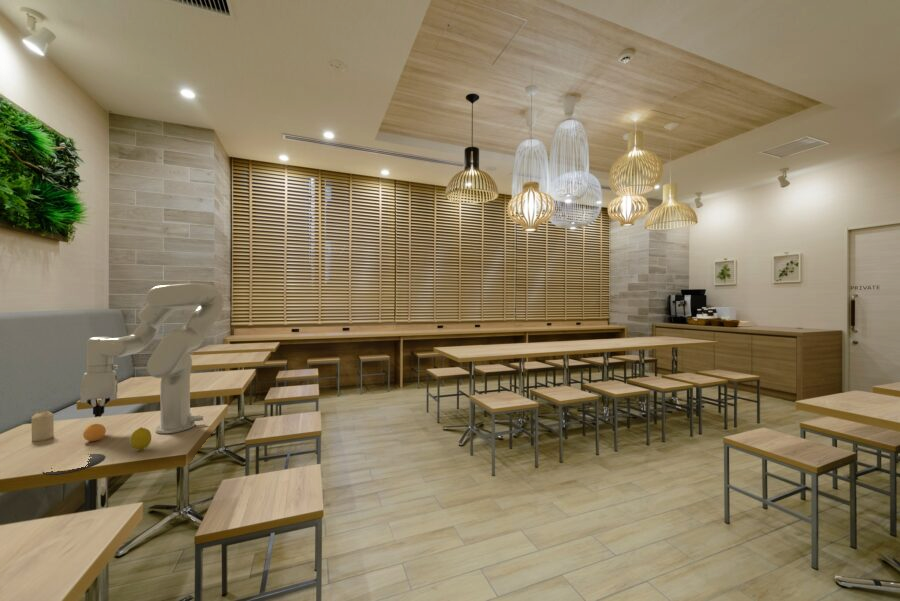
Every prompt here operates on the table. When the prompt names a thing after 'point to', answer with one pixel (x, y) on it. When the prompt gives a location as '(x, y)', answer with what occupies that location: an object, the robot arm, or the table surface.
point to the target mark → (93, 461)
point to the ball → (94, 432)
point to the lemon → (140, 438)
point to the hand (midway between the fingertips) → (98, 415)
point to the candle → (42, 426)
